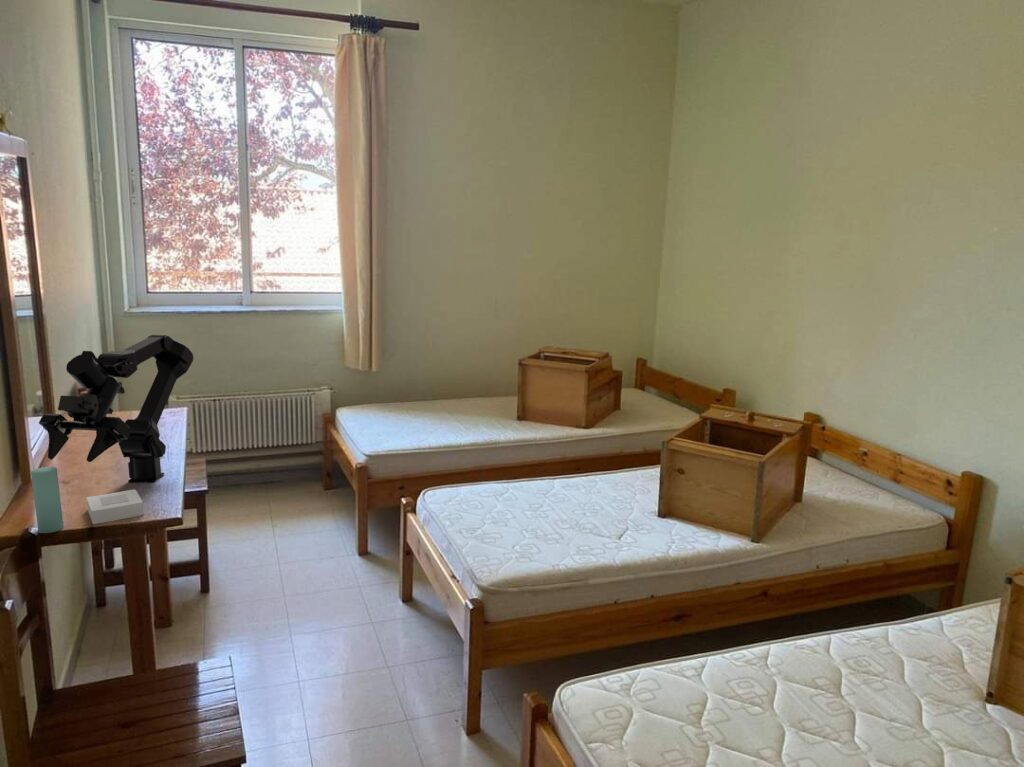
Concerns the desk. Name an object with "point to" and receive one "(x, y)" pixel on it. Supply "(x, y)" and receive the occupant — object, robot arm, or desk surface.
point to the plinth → (114, 506)
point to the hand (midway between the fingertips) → (69, 460)
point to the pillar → (47, 499)
